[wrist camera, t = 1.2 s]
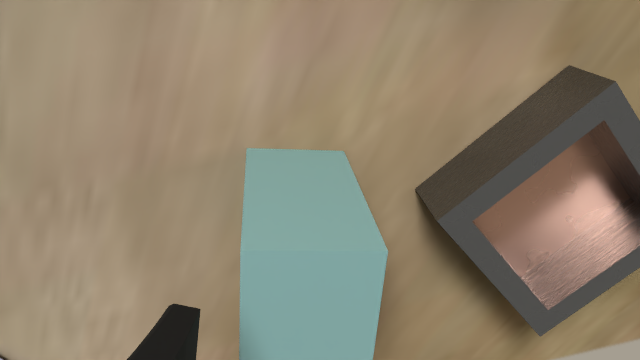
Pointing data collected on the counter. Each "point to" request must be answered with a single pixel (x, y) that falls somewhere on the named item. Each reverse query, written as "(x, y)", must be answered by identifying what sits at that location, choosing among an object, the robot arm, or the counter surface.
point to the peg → (307, 259)
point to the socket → (549, 197)
